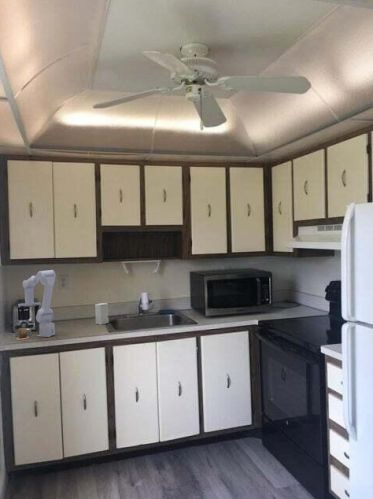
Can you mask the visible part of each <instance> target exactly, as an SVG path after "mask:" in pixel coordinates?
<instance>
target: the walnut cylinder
mask: <svg viewBox="0 0 373 499" xmlns="http://www.w3.org/2000/svg"><path fill="white" fill-rule="evenodd" d="M27 331H28V328H27V327H19V328H18V331H17V332H19V336H18V337H19V338H20V339H23V338H27Z"/></svg>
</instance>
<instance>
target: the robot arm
mask: <svg viewBox="0 0 373 499" xmlns="http://www.w3.org/2000/svg"><path fill="white" fill-rule="evenodd" d="M56 276H57V275H56V273H55V271H54V269H50V270H40V271H38V272H37V274H35V275H31V277H29V278H28V279H27V280H25V279H24V280H23V281H22V288H23V289H24V302H25V303H18V304H17V305H18V308H19V309H20V311H21V313H22V316H23V318H25V317H26V316H25V315H26V314H25V307H35V308H34V310H35V312H34V313H35V314H34V315H35V320H36V322H37V323H38V326H39V334H38V335H36V337H43V338H44V337H45V338H50V337H52V336H55V335H56V334H57V333H56V325H55V323H54V322H52V320H54V310H53V309H52V308H51V303H52V296H53V293H54V290H53V289H54V284H55V282H56V278H57V277H56ZM39 282H40V283H41V285H42V286H44V290H43V296H42V301H41V302H42V303H41V302H35V298H34V297H35V296H34V290H35V286H36V285H37V284H38V283H39ZM40 306H41V307H40ZM39 307H40V309H39Z"/></svg>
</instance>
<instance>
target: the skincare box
mask: <svg viewBox="0 0 373 499" xmlns="http://www.w3.org/2000/svg"><path fill="white" fill-rule="evenodd" d="M94 306H95V309H94V311H95V324H96V325H104V324H108V323H109V303H107V302H100V303H96V304H94Z"/></svg>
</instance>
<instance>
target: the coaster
mask: <svg viewBox="0 0 373 499" xmlns="http://www.w3.org/2000/svg"><path fill="white" fill-rule="evenodd" d="M15 339H16V340H17V341H24V340H28V339H30V335H29V336H27V338H23V339H20V338H19V336H18V337H15Z"/></svg>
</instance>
